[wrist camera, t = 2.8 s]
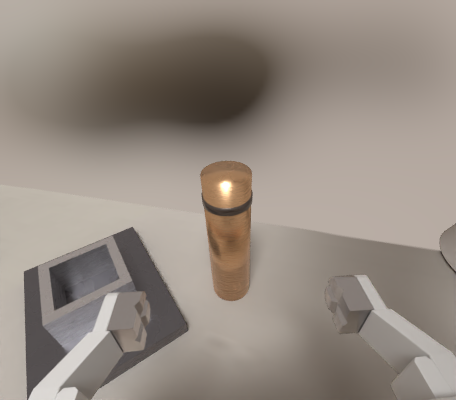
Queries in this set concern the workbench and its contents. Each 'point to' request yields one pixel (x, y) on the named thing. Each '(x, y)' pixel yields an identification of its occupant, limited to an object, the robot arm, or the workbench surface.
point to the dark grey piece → (92, 302)
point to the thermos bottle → (228, 225)
